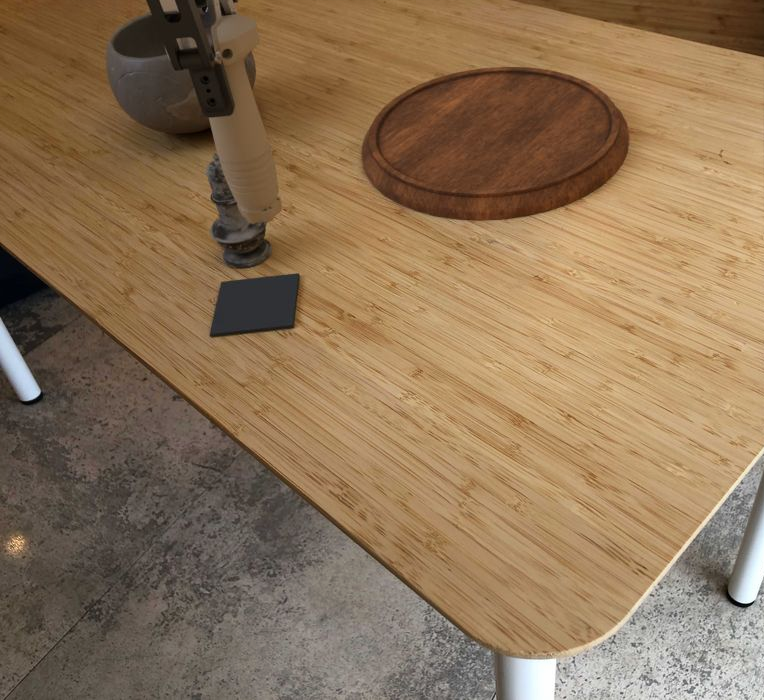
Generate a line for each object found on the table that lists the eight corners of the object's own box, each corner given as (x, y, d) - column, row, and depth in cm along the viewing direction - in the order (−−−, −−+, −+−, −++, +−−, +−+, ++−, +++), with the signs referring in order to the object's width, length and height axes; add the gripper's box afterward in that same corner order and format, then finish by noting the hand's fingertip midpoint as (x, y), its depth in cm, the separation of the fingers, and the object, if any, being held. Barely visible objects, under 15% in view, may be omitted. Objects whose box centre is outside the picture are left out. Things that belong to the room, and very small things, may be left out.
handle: (311, 211, 68) (267, 27, 58) (238, 243, 66) (179, 57, 56) (284, 187, 71) (238, 8, 61) (214, 217, 69) (153, 35, 59)
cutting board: (674, 111, 104) (675, 92, 102) (540, 252, 86) (540, 231, 84) (460, 63, 119) (458, 46, 117) (307, 175, 101) (303, 156, 99)
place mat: (210, 337, 81) (209, 334, 80) (222, 284, 87) (221, 281, 86) (293, 328, 81) (293, 324, 80) (299, 275, 86) (299, 272, 86)
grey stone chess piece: (281, 237, 92) (253, 137, 84) (264, 271, 88) (233, 170, 79) (230, 236, 93) (197, 137, 84) (211, 269, 89) (174, 169, 80)
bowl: (293, 100, 115) (270, 6, 106) (208, 167, 104) (174, 69, 95) (193, 82, 122) (164, -8, 113) (103, 143, 111) (63, 50, 102)
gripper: (115, -194, 55) (193, 56, 67) (48, -135, 45) (154, 149, 56) (230, -206, 55) (288, 47, 67) (189, -150, 45) (266, 138, 56)
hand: (226, 92), depth 61 cm, fingers closed on handle, 5 cm apart
